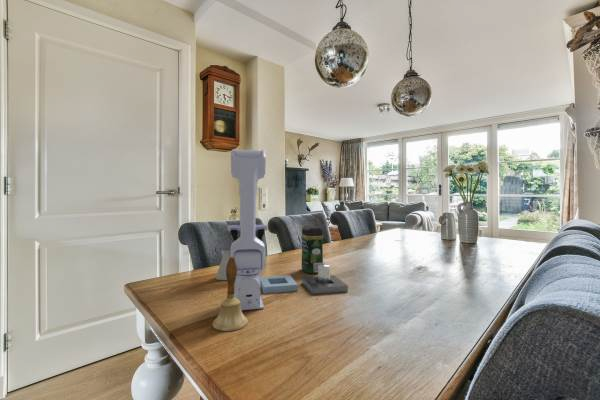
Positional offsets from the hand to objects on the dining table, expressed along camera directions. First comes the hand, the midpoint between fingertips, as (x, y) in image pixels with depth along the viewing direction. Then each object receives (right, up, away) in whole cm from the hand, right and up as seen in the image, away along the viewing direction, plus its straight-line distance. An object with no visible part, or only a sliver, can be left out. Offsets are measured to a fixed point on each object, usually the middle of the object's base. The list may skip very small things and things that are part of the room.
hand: (247, 249), depth 107 cm
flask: (-8, -10, -2) cm, 13 cm away
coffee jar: (+25, -10, +8) cm, 28 cm away
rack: (+12, -10, -11) cm, 20 cm away
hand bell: (+3, -11, -39) cm, 40 cm away
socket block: (+28, -11, -11) cm, 32 cm away
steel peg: (+28, -11, -11) cm, 32 cm away
